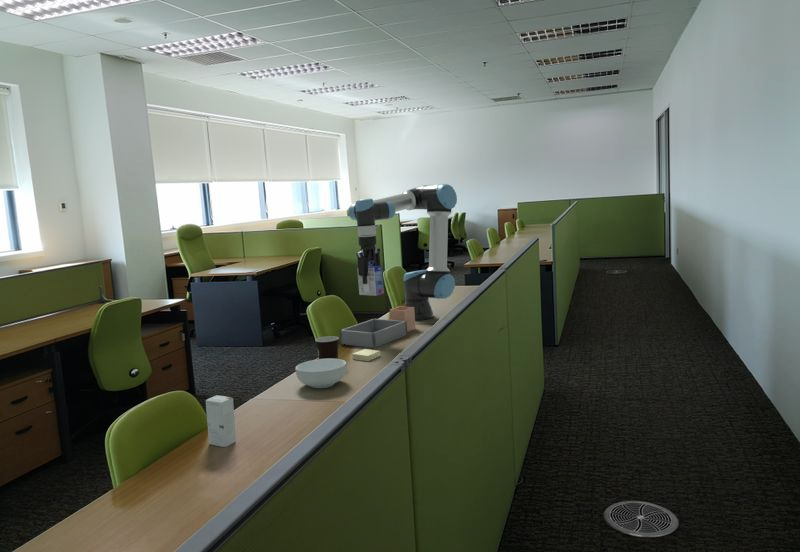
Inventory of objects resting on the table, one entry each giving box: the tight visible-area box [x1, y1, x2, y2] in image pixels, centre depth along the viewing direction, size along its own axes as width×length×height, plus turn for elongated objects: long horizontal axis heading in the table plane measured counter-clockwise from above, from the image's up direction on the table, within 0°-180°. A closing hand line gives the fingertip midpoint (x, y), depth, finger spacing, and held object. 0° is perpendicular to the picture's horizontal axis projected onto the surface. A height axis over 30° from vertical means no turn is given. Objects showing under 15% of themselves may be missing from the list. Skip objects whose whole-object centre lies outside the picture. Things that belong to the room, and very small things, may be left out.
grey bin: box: [339, 318, 408, 349], centre depth 267 cm, size 24×18×6 cm
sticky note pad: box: [351, 348, 381, 362], centre depth 238 cm, size 8×8×2 cm
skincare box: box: [205, 394, 237, 448], centre depth 162 cm, size 6×4×12 cm
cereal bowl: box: [295, 358, 348, 389], centre depth 207 cm, size 17×17×7 cm
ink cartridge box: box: [356, 260, 385, 297], centre depth 264 cm, size 10×6×14 cm, turn 54°
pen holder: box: [389, 305, 417, 333], centre depth 281 cm, size 8×8×10 cm
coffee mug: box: [314, 335, 340, 359], centre depth 232 cm, size 12×9×10 cm
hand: (371, 290), depth 265 cm, fingers closed on ink cartridge box, 5 cm apart
